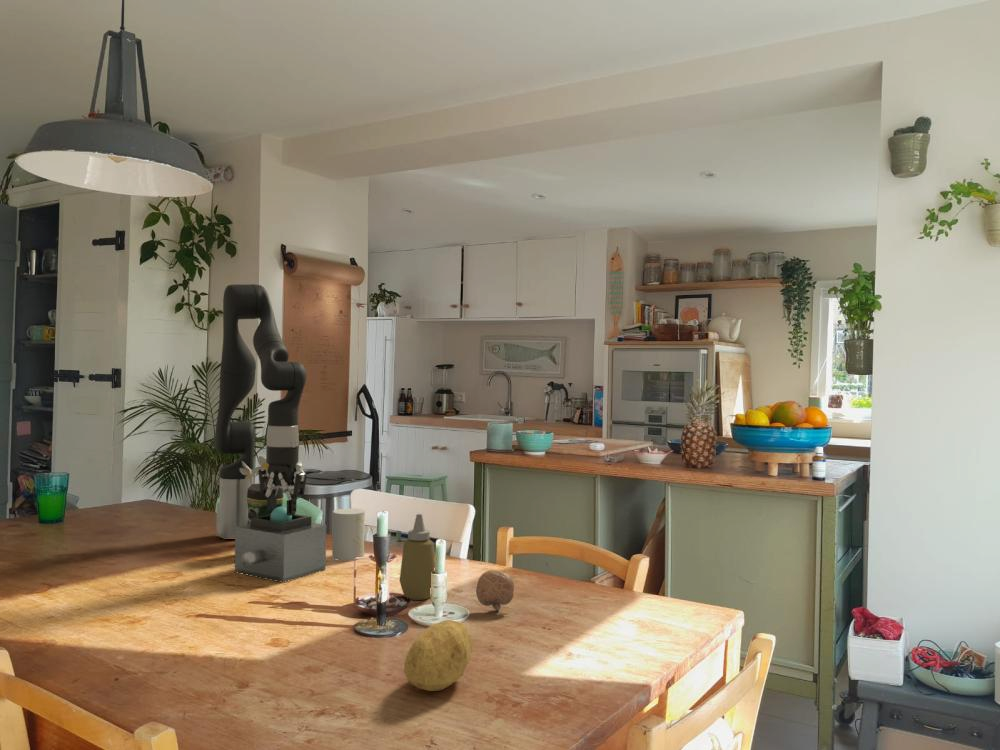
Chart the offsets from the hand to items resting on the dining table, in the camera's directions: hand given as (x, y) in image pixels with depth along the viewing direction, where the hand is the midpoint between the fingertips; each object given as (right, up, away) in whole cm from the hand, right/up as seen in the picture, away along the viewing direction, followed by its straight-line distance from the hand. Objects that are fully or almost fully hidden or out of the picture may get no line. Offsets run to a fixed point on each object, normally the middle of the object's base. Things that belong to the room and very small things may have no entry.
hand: (281, 513), depth 190 cm
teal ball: (0, -3, 0) cm, 3 cm away
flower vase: (-11, -14, +33) cm, 38 cm away
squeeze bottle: (+35, -15, -19) cm, 42 cm away
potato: (+43, -16, -66) cm, 80 cm away
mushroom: (+52, -16, -27) cm, 61 cm away
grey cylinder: (+13, -14, +15) cm, 25 cm away
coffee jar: (-9, -14, +17) cm, 24 cm away
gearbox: (-1, -14, -2) cm, 14 cm away
